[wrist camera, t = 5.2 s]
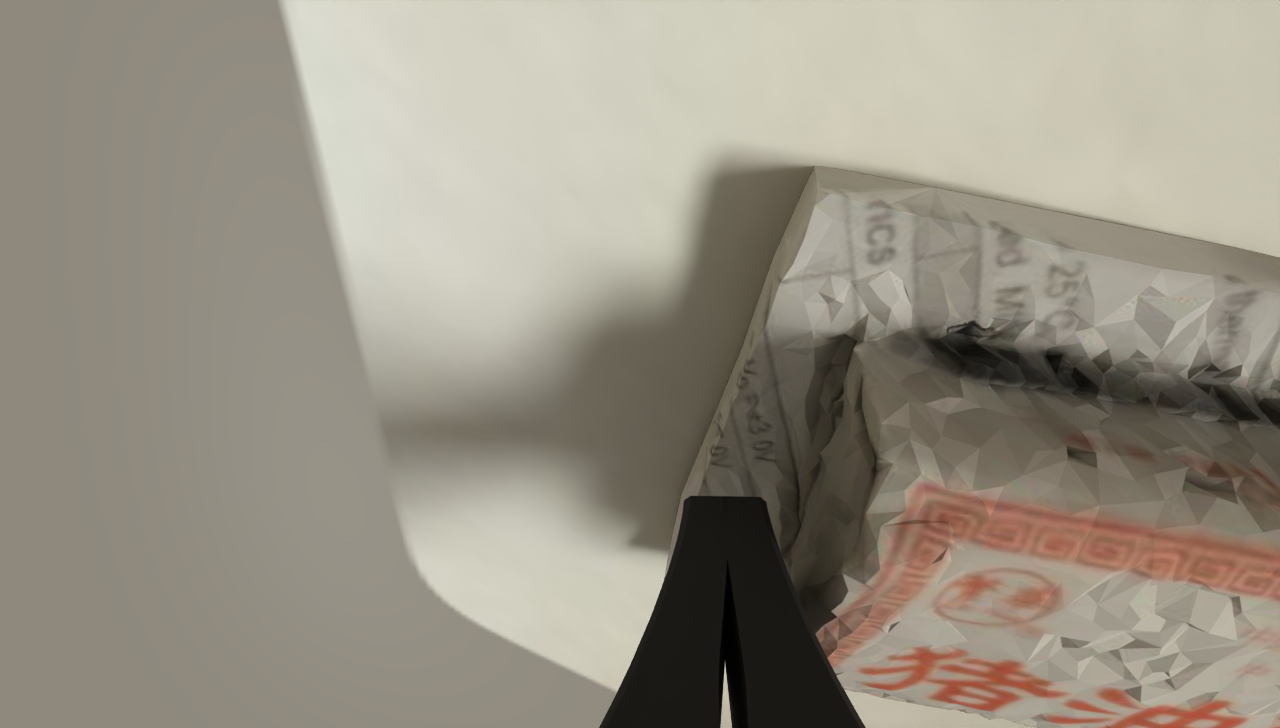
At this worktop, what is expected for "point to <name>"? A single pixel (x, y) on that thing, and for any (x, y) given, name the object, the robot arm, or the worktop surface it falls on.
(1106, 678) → the packaged product
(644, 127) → the worktop surface
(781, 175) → the worktop surface
